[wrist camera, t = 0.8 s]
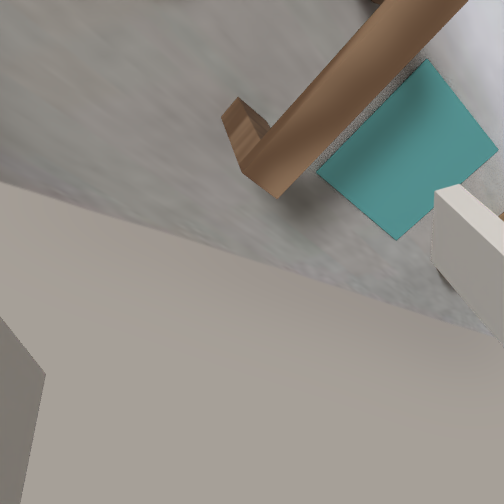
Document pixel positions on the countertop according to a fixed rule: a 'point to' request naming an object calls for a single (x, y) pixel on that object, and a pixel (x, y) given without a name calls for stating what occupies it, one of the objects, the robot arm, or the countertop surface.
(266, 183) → the bridge
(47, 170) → the countertop surface
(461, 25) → the countertop surface
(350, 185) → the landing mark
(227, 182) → the countertop surface
